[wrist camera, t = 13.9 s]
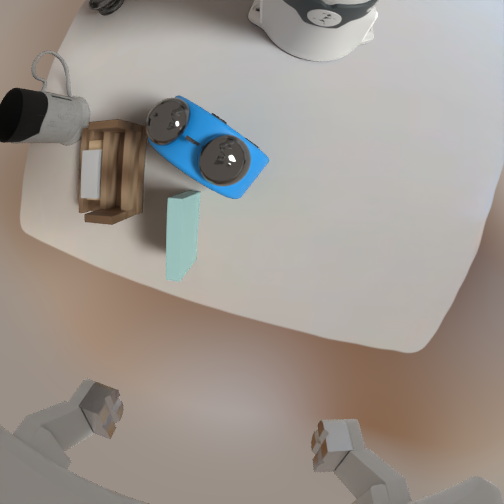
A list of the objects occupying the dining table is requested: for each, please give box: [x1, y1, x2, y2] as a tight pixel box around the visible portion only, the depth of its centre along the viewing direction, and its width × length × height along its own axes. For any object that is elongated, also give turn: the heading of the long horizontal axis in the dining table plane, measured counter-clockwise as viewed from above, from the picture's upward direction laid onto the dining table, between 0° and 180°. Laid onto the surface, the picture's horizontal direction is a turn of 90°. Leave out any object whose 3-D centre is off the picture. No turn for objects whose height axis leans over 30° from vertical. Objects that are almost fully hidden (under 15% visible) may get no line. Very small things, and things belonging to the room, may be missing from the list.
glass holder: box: [0, 51, 90, 145], centre depth 26 cm, size 9×14×15 cm, turn 156°
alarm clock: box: [145, 96, 269, 199], centre depth 28 cm, size 13×6×15 cm, turn 53°
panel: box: [166, 191, 201, 282], centre depth 35 cm, size 10×2×8 cm, turn 174°
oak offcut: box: [87, 140, 103, 200], centre depth 35 cm, size 9×3×2 cm, turn 174°
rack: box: [79, 119, 147, 225], centre depth 33 cm, size 13×10×8 cm
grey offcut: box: [81, 150, 103, 199], centre depth 33 cm, size 7×3×2 cm, turn 174°
